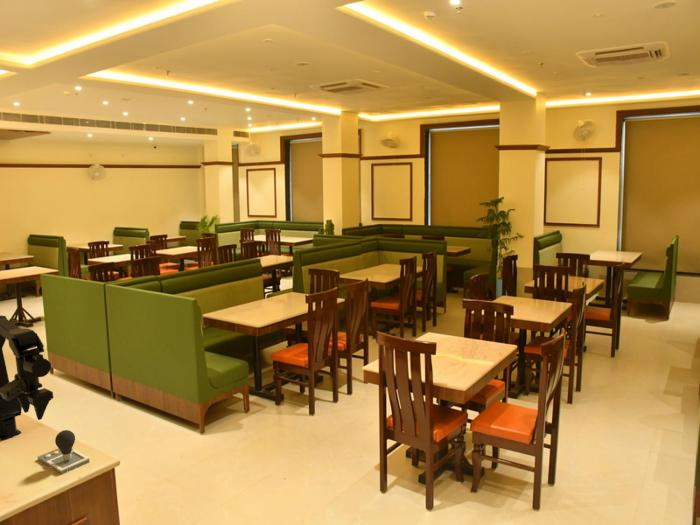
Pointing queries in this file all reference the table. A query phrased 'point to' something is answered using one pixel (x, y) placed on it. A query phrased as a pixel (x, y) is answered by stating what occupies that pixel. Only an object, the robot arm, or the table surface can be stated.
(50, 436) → the table surface
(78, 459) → the indicator board
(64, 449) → the light bulb
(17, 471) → the table surface
